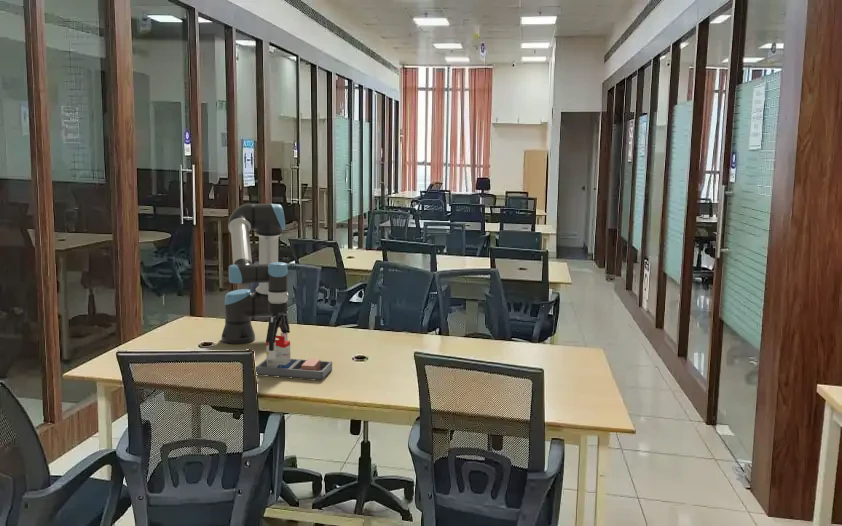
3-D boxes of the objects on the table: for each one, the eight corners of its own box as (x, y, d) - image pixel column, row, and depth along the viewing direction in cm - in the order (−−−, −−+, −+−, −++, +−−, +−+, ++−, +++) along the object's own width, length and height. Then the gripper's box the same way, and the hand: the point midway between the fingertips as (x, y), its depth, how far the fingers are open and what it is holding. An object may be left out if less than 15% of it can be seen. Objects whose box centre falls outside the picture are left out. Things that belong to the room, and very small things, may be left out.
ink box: (291, 368, 276) (290, 333, 274) (285, 372, 271) (285, 336, 269) (272, 366, 279) (271, 331, 276) (266, 370, 274) (265, 334, 272)
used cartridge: (301, 375, 269) (301, 365, 268) (308, 368, 278) (308, 358, 277) (313, 375, 268) (313, 366, 268) (320, 369, 277) (320, 359, 276)
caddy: (255, 375, 269) (255, 366, 269) (268, 365, 283) (268, 357, 282) (322, 380, 266) (322, 371, 265) (332, 370, 279) (332, 361, 278)
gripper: (275, 308, 258) (276, 363, 261) (297, 295, 282) (297, 345, 286) (256, 307, 259) (257, 361, 262) (279, 294, 283) (280, 344, 287)
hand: (278, 353), depth 274 cm, fingers open, 13 cm apart
